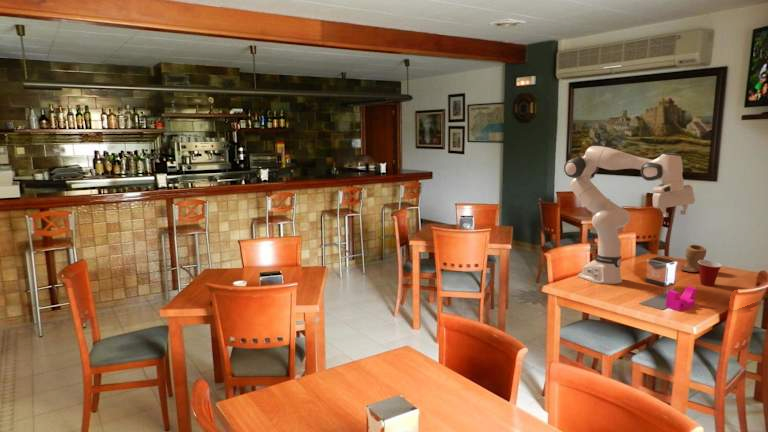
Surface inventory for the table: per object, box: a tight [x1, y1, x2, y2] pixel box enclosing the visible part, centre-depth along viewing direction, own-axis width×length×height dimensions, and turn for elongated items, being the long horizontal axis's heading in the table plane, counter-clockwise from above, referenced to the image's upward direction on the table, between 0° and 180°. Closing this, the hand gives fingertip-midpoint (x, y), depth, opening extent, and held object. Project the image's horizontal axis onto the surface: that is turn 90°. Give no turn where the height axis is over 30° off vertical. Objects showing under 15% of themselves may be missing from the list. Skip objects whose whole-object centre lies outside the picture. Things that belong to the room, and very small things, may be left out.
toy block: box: [666, 285, 697, 312], centre depth 231 cm, size 15×6×8 cm, turn 116°
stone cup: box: [678, 244, 707, 273], centre depth 287 cm, size 15×12×15 cm
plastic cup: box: [698, 259, 723, 287], centre depth 261 cm, size 11×11×12 cm
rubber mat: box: [638, 292, 669, 311], centre depth 238 cm, size 10×24×1 cm, turn 127°
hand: (674, 215), depth 239 cm, fingers open, 8 cm apart
